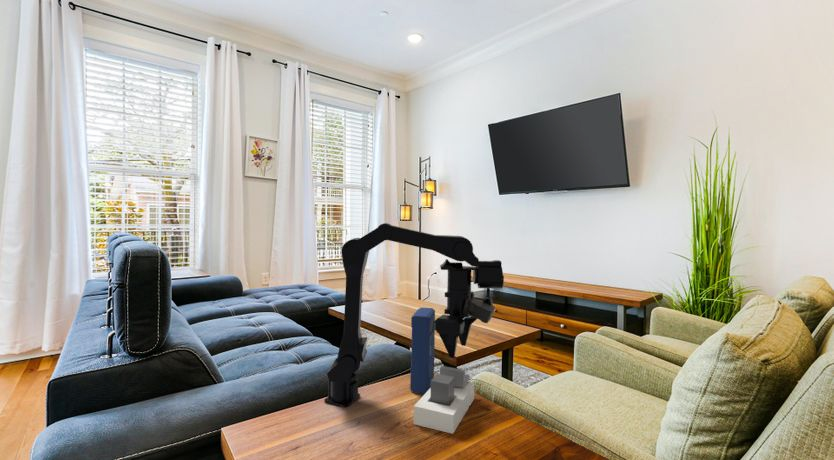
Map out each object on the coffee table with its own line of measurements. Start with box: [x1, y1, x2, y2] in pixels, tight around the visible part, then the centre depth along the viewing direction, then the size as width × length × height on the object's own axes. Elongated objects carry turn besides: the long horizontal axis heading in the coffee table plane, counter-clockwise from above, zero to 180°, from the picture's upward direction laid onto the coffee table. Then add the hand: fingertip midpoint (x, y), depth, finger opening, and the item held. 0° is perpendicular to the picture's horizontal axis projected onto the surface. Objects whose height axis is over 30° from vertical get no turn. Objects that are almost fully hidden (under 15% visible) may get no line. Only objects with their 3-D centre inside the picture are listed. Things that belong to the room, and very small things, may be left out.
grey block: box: [439, 365, 471, 388], centre depth 97 cm, size 6×6×4 cm
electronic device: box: [409, 307, 436, 395], centre depth 104 cm, size 10×5×20 cm, turn 168°
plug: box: [430, 373, 454, 406], centre depth 89 cm, size 4×4×8 cm
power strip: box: [413, 381, 475, 434], centre depth 91 cm, size 9×17×4 cm, turn 157°
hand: (458, 351), depth 95 cm, fingers open, 9 cm apart
